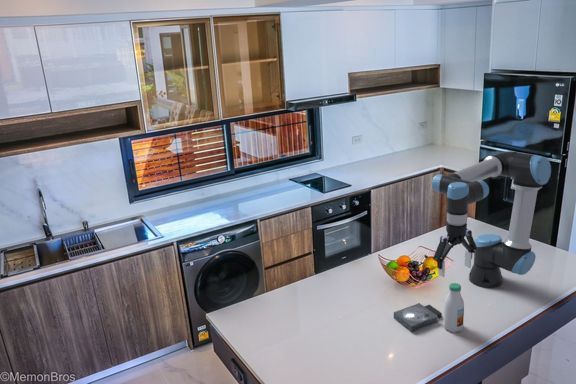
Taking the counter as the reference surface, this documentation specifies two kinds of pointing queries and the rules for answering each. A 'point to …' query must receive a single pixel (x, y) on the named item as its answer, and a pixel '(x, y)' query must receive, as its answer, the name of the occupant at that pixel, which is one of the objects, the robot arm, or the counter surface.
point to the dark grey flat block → (417, 316)
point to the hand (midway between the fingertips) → (454, 270)
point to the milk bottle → (454, 309)
